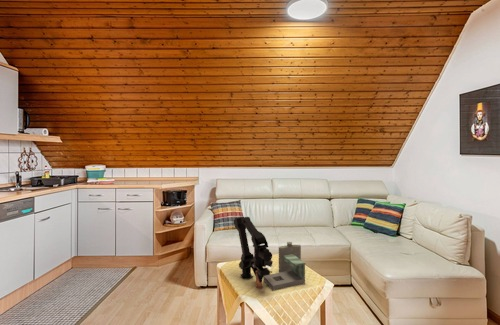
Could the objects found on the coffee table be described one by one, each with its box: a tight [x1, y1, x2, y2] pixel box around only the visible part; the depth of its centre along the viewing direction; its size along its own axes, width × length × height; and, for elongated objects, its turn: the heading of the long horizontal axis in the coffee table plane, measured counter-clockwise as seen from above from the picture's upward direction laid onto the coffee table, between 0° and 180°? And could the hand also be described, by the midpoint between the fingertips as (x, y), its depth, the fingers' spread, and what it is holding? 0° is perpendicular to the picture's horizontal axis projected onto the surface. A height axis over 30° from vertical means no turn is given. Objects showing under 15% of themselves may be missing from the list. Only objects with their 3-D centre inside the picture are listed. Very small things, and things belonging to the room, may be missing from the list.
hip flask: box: [278, 241, 302, 273], centre depth 193 cm, size 16×4×20 cm, turn 105°
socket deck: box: [262, 270, 306, 292], centre depth 178 cm, size 14×22×3 cm, turn 112°
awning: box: [283, 254, 306, 280], centre depth 180 cm, size 15×7×10 cm, turn 22°
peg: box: [255, 270, 263, 290], centre depth 171 cm, size 4×4×10 cm
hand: (259, 280), depth 171 cm, fingers closed on peg, 4 cm apart
